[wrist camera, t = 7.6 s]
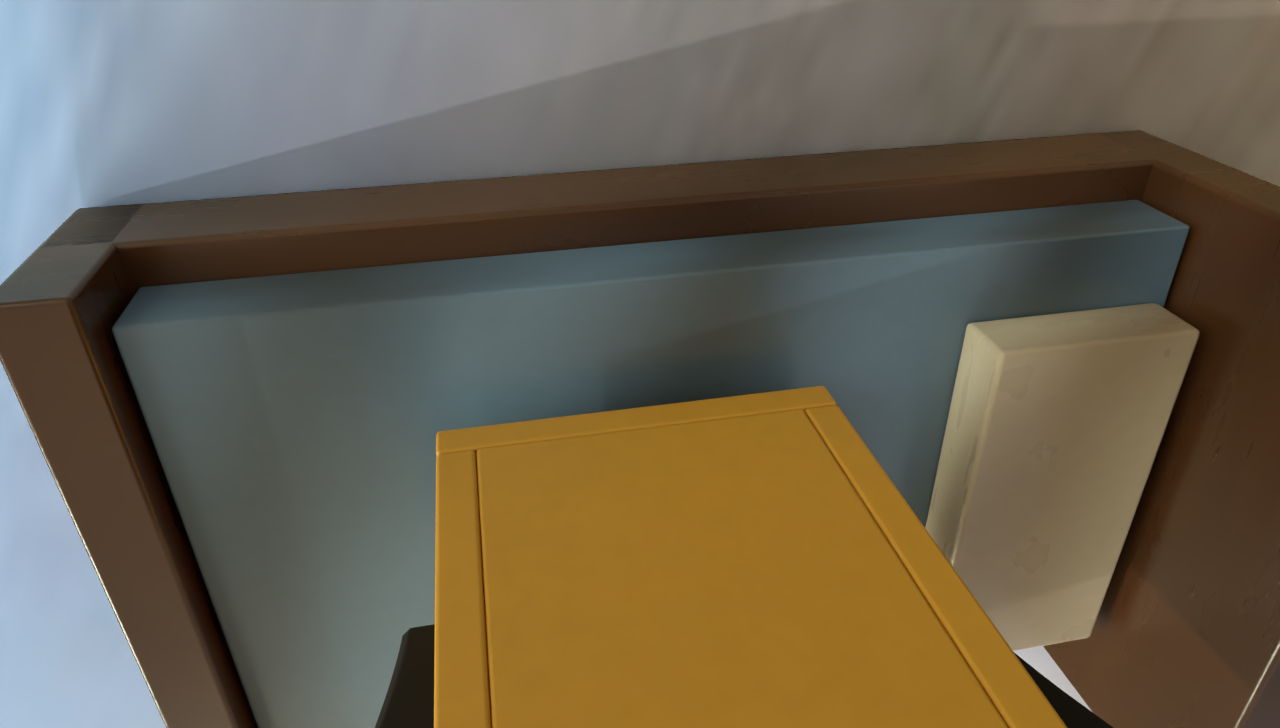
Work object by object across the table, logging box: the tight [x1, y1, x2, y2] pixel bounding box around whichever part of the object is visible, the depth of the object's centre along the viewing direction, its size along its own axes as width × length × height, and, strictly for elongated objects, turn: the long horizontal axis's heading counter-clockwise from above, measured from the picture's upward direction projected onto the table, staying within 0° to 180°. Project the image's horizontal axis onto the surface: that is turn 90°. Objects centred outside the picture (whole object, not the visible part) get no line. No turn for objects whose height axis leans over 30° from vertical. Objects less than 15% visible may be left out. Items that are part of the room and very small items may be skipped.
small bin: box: [434, 386, 1067, 728], centre depth 11 cm, size 5×5×6 cm
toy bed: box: [0, 130, 1280, 728], centre depth 13 cm, size 17×10×6 cm, turn 90°
